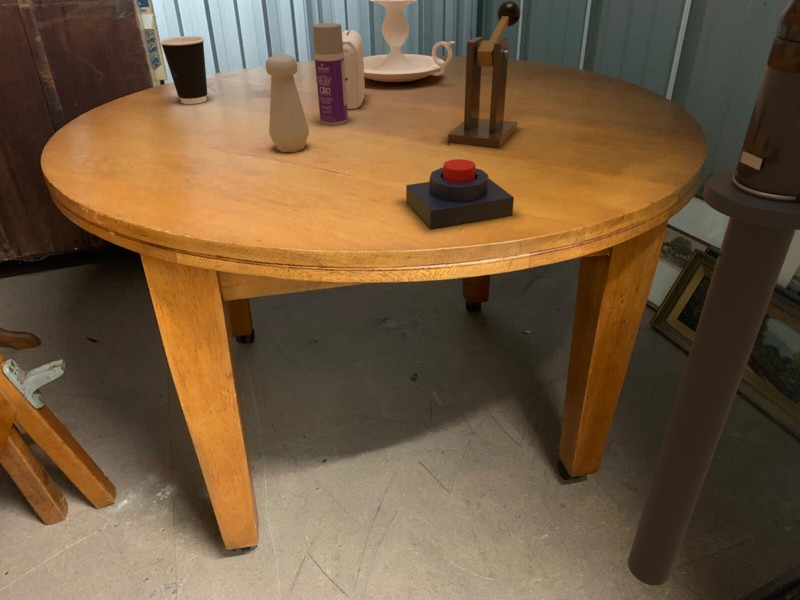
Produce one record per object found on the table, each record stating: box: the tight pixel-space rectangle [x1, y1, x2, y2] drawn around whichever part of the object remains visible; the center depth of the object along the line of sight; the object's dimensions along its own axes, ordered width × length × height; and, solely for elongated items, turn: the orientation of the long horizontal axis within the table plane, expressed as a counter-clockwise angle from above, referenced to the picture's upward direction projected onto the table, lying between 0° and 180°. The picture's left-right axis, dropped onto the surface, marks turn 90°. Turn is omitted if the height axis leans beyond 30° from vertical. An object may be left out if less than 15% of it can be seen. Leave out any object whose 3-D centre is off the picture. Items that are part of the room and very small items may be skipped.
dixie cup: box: [158, 35, 208, 105], centre depth 113 cm, size 8×8×11 cm
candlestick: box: [363, 0, 456, 83], centre depth 120 cm, size 21×25×28 cm
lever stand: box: [447, 36, 518, 149], centre depth 90 cm, size 10×8×14 cm
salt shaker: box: [265, 54, 310, 153], centre depth 87 cm, size 6×6×13 cm
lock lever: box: [477, 0, 521, 68], centre depth 90 cm, size 14×4×4 cm, turn 156°
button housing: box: [405, 167, 515, 230], centre depth 69 cm, size 10×8×4 cm
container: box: [312, 22, 349, 126], centre depth 98 cm, size 5×5×15 cm
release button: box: [442, 158, 477, 183], centre depth 68 cm, size 4×4×2 cm
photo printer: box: [342, 29, 366, 110], centre depth 109 cm, size 10×4×12 cm, turn 177°
